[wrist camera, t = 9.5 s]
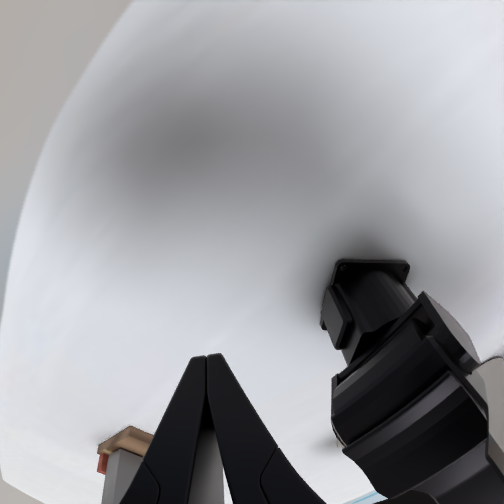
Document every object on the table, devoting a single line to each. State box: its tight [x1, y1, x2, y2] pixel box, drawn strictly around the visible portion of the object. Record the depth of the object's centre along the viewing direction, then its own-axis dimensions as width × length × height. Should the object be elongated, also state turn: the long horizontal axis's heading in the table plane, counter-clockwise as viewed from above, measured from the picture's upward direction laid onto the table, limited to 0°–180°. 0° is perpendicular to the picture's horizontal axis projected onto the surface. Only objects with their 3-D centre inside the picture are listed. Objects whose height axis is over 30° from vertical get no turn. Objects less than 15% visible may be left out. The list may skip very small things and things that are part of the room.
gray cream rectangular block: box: [102, 449, 143, 504], centre depth 28 cm, size 4×5×11 cm
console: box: [97, 426, 153, 475], centre depth 32 cm, size 11×7×4 cm, turn 135°
